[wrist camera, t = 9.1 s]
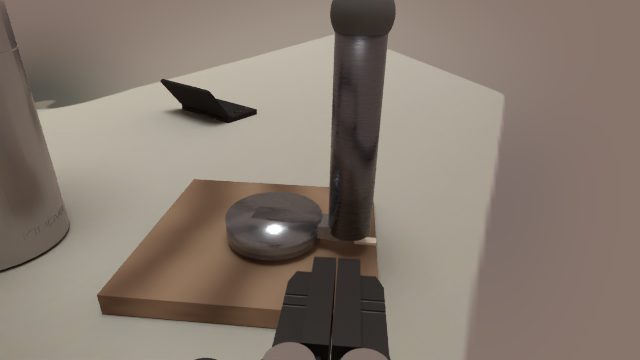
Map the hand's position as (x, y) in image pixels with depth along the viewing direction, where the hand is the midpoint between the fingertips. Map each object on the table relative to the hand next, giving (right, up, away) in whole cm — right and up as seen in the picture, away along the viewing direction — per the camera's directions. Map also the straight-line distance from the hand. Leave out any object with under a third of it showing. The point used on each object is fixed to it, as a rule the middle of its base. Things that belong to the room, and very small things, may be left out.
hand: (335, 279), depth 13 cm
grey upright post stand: (-2, -1, +17) cm, 17 cm away
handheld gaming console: (-17, +13, +50) cm, 54 cm away
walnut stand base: (-5, -2, +19) cm, 19 cm away
